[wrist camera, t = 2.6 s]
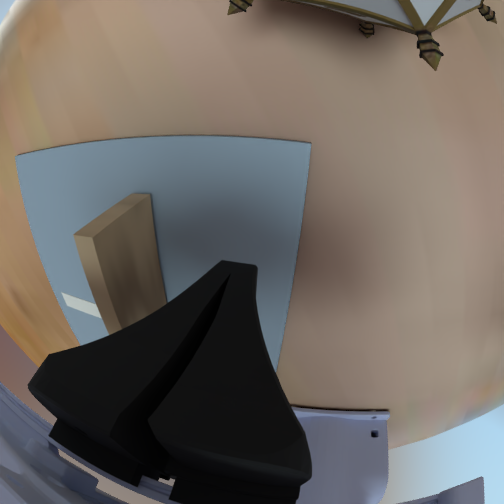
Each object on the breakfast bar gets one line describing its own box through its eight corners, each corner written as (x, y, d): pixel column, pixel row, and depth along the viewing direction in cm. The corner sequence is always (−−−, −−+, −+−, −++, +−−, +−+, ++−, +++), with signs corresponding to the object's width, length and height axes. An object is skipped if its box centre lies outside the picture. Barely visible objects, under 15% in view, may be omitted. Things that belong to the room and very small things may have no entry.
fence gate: (175, 323, 15) (147, 376, 12) (152, 317, 15) (121, 367, 12) (155, 194, 11) (98, 238, 8) (126, 192, 11) (67, 233, 8)
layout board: (311, 142, 9) (311, 144, 9) (266, 413, 20) (265, 416, 20) (18, 155, 12) (14, 156, 11) (93, 362, 23) (91, 364, 22)
